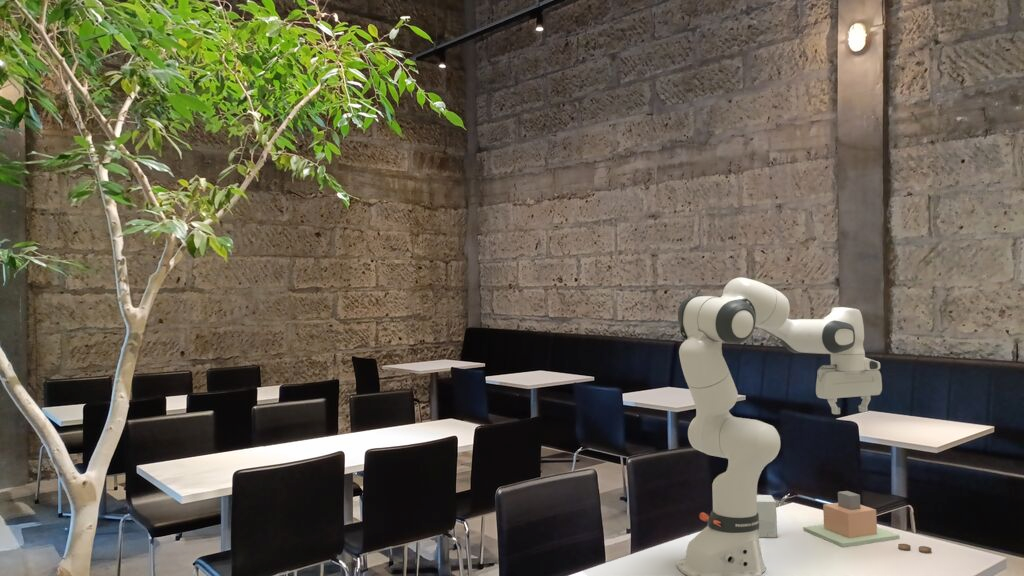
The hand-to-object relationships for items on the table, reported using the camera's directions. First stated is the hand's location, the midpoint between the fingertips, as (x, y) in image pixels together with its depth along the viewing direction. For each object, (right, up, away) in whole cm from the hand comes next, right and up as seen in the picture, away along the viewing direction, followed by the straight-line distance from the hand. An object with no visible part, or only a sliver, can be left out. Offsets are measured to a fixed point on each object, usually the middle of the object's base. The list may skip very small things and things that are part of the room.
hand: (849, 412), depth 203 cm
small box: (-20, -38, +11) cm, 44 cm away
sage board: (+4, -37, +8) cm, 38 cm away
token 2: (+17, -37, -7) cm, 41 cm away
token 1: (+13, -37, -5) cm, 39 cm away
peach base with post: (+4, -36, +8) cm, 37 cm away
